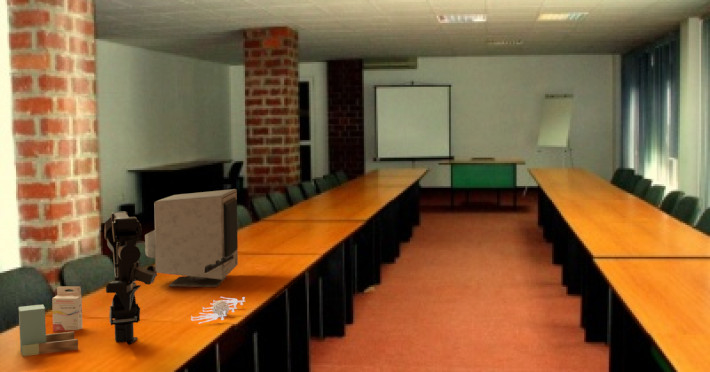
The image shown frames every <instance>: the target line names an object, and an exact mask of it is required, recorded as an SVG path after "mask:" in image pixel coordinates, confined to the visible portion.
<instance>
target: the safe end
mask: <svg viewBox="0 0 710 372" xmlns="http://www.w3.org/2000/svg"><path fill="white" fill-rule="evenodd" d="M21 355H22V357H28V356H34V355H40V354H39V344H30V345H22V354H21Z"/></svg>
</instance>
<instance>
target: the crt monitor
mask: <svg viewBox="0 0 710 372" xmlns="http://www.w3.org/2000/svg"><path fill="white" fill-rule="evenodd" d="M237 191H238V190H237V188H233V189H231V188H230V189H223V190H222V189H221V190H213V191H211V190H210V191H203V192H202V191H200V192H191V193H180V194H173V195H170V196H166V197H164V198H161V199H158V200H156V201H154V202H153V203H154V204H153V205H154V210H153V211H154V230H151V231H150V232H148V233H146V234H144V240H145V241H144V245H145V248H144V250H145V256H147V258H149V259H155V260H154V261H155V262H154V263H155V264H154V266H155V268H156V271H157V274H165V275H166V274H167V275H175V276H178V277H176V279H174V280H173V281H172V282H170V283H169V284H168V287H179V288H180V287H182V288H183V287H187V288H189V287H191V288H192V287H195V288H200V287H201V288H218V287H219V286H220V285H221V284H222V283H223V282H224V280H226V279H227V276H228V275H229V274H230V273H231V272H232V271H233V270H234V269H235V268H236V267H237V266H238V265H239V263H238V261H239V260H238V259H239V257H238V256H239V255H238V254H239V253H238V252H239V251H238V245H239V244H238V241H239V239H238V238H239V237H238V199H237V198H238V197H237V194H238V192H237ZM230 255H234V256H233V257H234V258H233V259H231V260H229V261H227V262H225V263H223V264H222V265H220V266H218V267H217V268H215V269H213V270H210V271H209V272H207V273H204V272H205V266H207V265H209V264H216V261H217V260H219V261H220V260H221V258H222V257H227V256H230Z"/></svg>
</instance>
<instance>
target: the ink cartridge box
mask: <svg viewBox="0 0 710 372" xmlns="http://www.w3.org/2000/svg"><path fill="white" fill-rule="evenodd" d="M67 290H69V291H67ZM70 290H71V291H70ZM56 293H57V294H56V295H55V296H54V297H52V299H51V300H52V301H51V302H52V305H51V306H52V309H51V310H52V311H51V312H52V332H53V333H54V332H55V333H56V332H66V331H79V330H82V329H83V301H82V299H83V298H82V289H81V286H74V285H73V286H71V285H69V286H56Z"/></svg>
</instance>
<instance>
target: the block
mask: <svg viewBox="0 0 710 372" xmlns="http://www.w3.org/2000/svg"><path fill="white" fill-rule="evenodd" d="M45 310H46V307H45V306H44V304H34V305H26V306H25V305H24V306H18V324H19V325H18V326H19V327H18V328H19V344H20V346H19V347H20V354H21V355H22V345H30V344H39V343H46V334H47V331H46V330H47V329H46V311H45Z"/></svg>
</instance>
